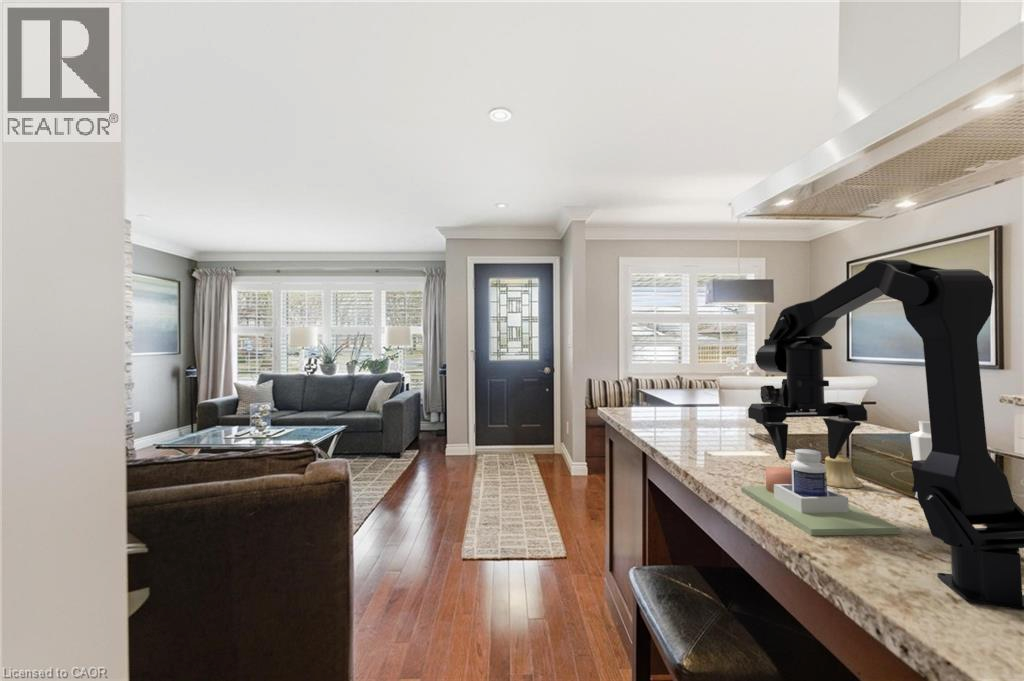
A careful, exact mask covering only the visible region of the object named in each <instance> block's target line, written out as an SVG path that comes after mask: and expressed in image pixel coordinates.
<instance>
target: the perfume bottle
mask: <svg viewBox="0 0 1024 681" xmlns="http://www.w3.org/2000/svg"><path fill="white" fill-rule="evenodd" d="M917 422H918V426H919V427H918V428H919V430H918V431H915V432H913V433H911V434H909V438H910V447H911V452H912V453H911V454H912V458H913V460H912V462H913V461H915V460H926V459H927V457H928V455H929V454H930V452H931V450H932V440H931V428H930V420H929V421H928V420H918V421H917ZM914 495H915V496H914V498H916V499H918V497H917V492H915V494H914Z"/></svg>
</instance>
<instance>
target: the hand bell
mask: <svg viewBox="0 0 1024 681" xmlns="http://www.w3.org/2000/svg"><path fill="white" fill-rule="evenodd" d="M842 451H843V447H842V448H841V450H840V452H839V453H838V455H837V457H836V459H832V458H830V457H829V455H828V456H826V457H825V459H824V466H825V467H826V474H827V487H828V486H829V487H833V488H840V489H842V488H843V489H858V488H861V489H862V488H863V487H864V485H863V482H862V481H861V480H859V479H858V477H857V476H856V474H855V473H854V470H853V467H852V463H851V458H848V457H846V456H844V454H843V452H842Z"/></svg>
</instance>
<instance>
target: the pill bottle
mask: <svg viewBox="0 0 1024 681" xmlns="http://www.w3.org/2000/svg"><path fill="white" fill-rule="evenodd" d="M794 450H795V451H794V455H795V459H796V460H794V461H792V462H791V464H790V468H791V478H792V492H794V493H796V494H798V495H800V496H802V497H827V489H828V485H827V474H826V467H825V464H823V463H821V460H822V452H821V451H819V450H816V449H815V450H814V449H809V448H808V449H807V448H797V449H794Z"/></svg>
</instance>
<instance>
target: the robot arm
mask: <svg viewBox="0 0 1024 681" xmlns="http://www.w3.org/2000/svg"><path fill="white" fill-rule="evenodd" d="M883 296H886V297H889V298H891V299H894V300H897V301H899V302H901V304H902V307H903V311H904V316H905V318H906V321H907V322H908V323H909V325H910V326H911V327H912V328H913V329H914V331H916V333H917V334H918V336H920V338H921V340H922V344H923V346H922V347H923V356H924V367H925V380H926V392H927V394H926V395H927V402H928V403H927V405H928V415H929V422H930V428H931V440H932V450H931V452H930V454H929V455H928V457H927V459H926V460H915V461H913V460H912V462H911V471H912V476H913V486H912V490H911V492H912V493H916V492H917V497H918V498H917V501H918V504H919V506H920V507H921V509H922V511H923V514H924V516H925V519H926V522H927V525H928V527H929V530H930V533H931V536H932V537H935V538H936V539H939V540H941V541H943V544H945V545H948V546H950V560H951V561H950V562H951V564H950V565H951V566H950V567H951V568H950V569H951V573H945V572H937V578H938V579H939V580H940V581H942V582H943V583H945V585H946V586H947V587H949V588H950V589H951V590H952V591H953V592H955V593H957V595H959V596H960V597H961V598H962V599H963V600H964V601H966V602H968V603H971V604H973V605H974V604H975V605H980V606H981V605H983V606H990V607H998V608H1005V609H1011V610H1012V609H1015V610H1021V611H1024V594H1023V579H1022V576H1023V575H1022V559H1021V558H1022V557H1021V553H1020V549H1024V510H1023V509H1022V508H1021V507H1020V506H1019V505H1018V504H1017V502H1016V501H1014V497H1013V494H1012V492H1011V491H1012V490H1011V487H1010V483H1009V480H1008V477H1007V475H1006V474H1005V472H1004V471H1003V470H1002V469H1001V467H1000V466H999V465H998V464H997V463H996V462H995V460H994V459H993V458H992V457H991V455H990V454H989V450H988V444H987V443H988V442H987V433H986V431H987V430H986V423H985V420H986V419H985V412H984V411H985V410H984V402H983V401H984V400H983V391H982V380H981V379H982V378H981V369H980V367H981V366H980V359H979V348H978V347H979V346H978V337H979V334H980V332H981V331H982V330H983V328H984V326H985V324H986V322H987V321H988V320H989V318H990V316H991V314H992V306H993V296H994V284H993V282H992V279H991V278H990V277H989V276H988V275H986V274H984V273H982V272H981V271H979V270H977V269H972V268H969V269H965V268H962V269H961V268H959V269H958V268H957V269H953V268H951V269H950V268H949V269H947V268H940V267H935V266H929V265H923V264H918V263H915V262H911V261H908V260H906V259H876V260H874V261H872V262H869V263H868V264H867V265H866V266H865V267H864V269H862V270H860V271H859V272H857V273H856V274H855V273H854V275H852V276H851V277H849V278H847V279H845V280H844V281H842V282H841V283H840V284H838V285H836V286H834V287H833V288H831V289H829V290H828V291H826V292H825V293H824V294H822V295H820V296H818V297H817V298H815V299H811V300H808V301H804V302H798V303H796V304H795V303H794V304H792V305H789V306H787V307H785V308H783V309H782V310H781V311H780V312H779V316H778V318H777V320H776V322H775V324H774V326H773V329H772V331H771V332H770V333H769V335H768V336H769V338H765V339H764V340H763V341H764V343H763V344H764V345H761V346H760V348H758V350H757V351H756V354H755V363H756V364H757V367H758V368H759V369H760V370H762V371H764V372H769V373H771V372H772V373H781V374H784V373H785V374H786V378H782V381H781V387H778V388H775V386H774V385H763V386H760V398H761V402H762V403H751V404H750V405H749V407H748V409H747V413H748V415H747V416H748V417H747V418H748V419H751V420H755V423H756V424H759V425H762V426H763V427H764V428H765V430H766V432H767V433H768V435H769V436H770V439H771V440H772V444H773V446H774V448H775V450H776V453H777V455H778V458H779V459H780V460H781V461H782V460H786V457H787V451H788V450H787V449H788V434H789V433H788V432H789V424H787V423H784V421H785V420H786V419H788V418H812V417H813V418H817V417H818V418H820V417H821V418H822V420H823V422H824V423H825V426H826V427H827V448H828V450H827V451H828V456H829V457H830V458H832V459H836V457H837V455H838V453H839V452H840V450H841V448H842V449H843V446H844V445H845V443H846V441H847V439H848V438H849V437H850V436H851V434H852V433H853V431H854V430H855V428H857V427H859V426H862V424H861V422H868V416H869V415H868V410H867V409H866V407H865V406H864V404H859V403H854V402H847V401H826V402H825V387H829V386H830V381H829V380H826V379H825V378H824V377H825V376H824V355H823V352H824V351H823V350H832V348H833V346H832V345H831V344H830V343H829V342H827V341H826V340H825V339H824V338H823V337H824V336H825V335H826V334H828V332H830V331H831V330H833V329H834V328H835V327H836V324H837V322H838V321H839V319H841V318H842V317H843V316H846V315H848V314H850V313H852V312H854V311H856V310H857V309H859V308H861V307H863V306H864V305H865V306H866V305H867V304H869V303H871V302H873V301H875V300H876V299H878V298H881V297H883ZM974 525H975V526H977V525H985V526H986V527H978V528H977V527H975V526H974Z"/></svg>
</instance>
